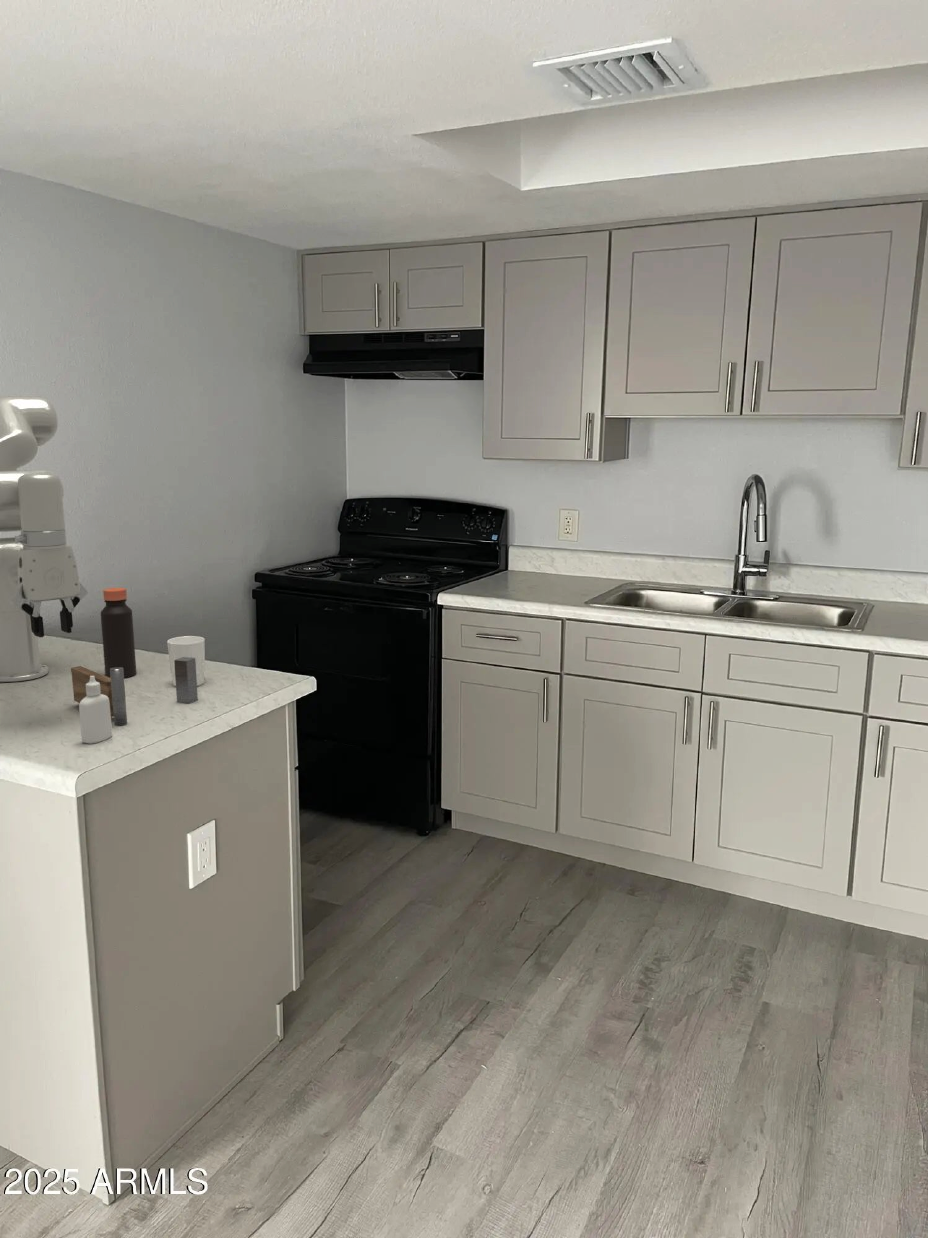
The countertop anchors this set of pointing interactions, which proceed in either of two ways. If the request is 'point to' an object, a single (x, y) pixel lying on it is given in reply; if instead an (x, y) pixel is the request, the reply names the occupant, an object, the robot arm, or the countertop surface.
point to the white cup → (188, 654)
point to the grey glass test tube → (118, 696)
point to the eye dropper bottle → (95, 714)
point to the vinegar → (118, 632)
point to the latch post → (186, 680)
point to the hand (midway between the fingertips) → (52, 633)
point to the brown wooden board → (83, 677)
